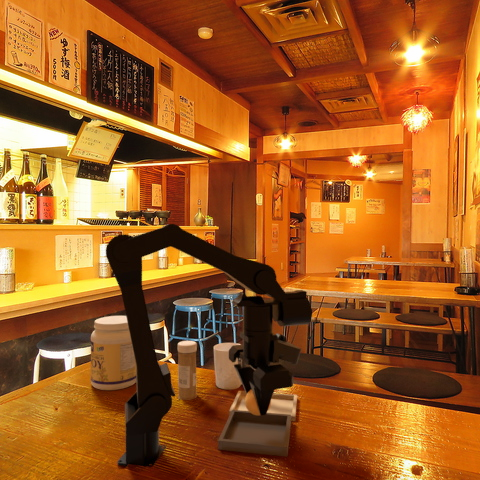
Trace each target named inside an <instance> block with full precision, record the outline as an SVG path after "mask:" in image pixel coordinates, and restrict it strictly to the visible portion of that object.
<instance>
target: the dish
mask: <svg viewBox="0 0 480 480" xmlns="http://www.w3.org/2000/svg"><path fill="white" fill-rule="evenodd" d="M291 425H292V421H291V415H290V414H277V413H266V415H254V414H252V413H250V412H249V411H241V410H232V411H231V413H230V415H229V416H228V418H227V420H226V421H225V424H224V427H223V429H222V431H221V433H220V436H219V438H218V440H217V445H218V446H217V450H220V451H226V452H228V451H229V452H239V453H247V454H256V455H259V454H260V455H265V456H266V455H268V456H278V457H288V455H289V444H290V434H291V427H292V426H291Z"/></svg>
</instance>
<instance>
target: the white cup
mask: <svg viewBox="0 0 480 480" xmlns="http://www.w3.org/2000/svg"><path fill="white" fill-rule="evenodd" d="M233 345H242V344H241V343H237V342H221V343H218V344H215V345H214V346H213V363H214V376H215V386H216V387H217V388H219V389H221V390H236V389H238V388H240V387H241V386H243V385H242V383H241V380H240V378H239V376H238V374H237V371H236V369H235V368H234V365H235V364H238V358H236V362H232V361H231V360H229V349H230V348H231V347H232V346H233Z"/></svg>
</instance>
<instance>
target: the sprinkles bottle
mask: <svg viewBox="0 0 480 480" xmlns="http://www.w3.org/2000/svg"><path fill="white" fill-rule="evenodd" d="M197 348H198V344H197V342H196V341H194V340H182V341H179V342H178V343H177V353H178V355H177V356H178V360H177V361H178V364H177V374H178V375H177V381H178V382H177V384H178V396H177V398H178V400H182V401H188V400H193V399H196V398H197V397H198V395H197V385H198V384H197V383H198V382H197V351H198V350H197Z"/></svg>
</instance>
